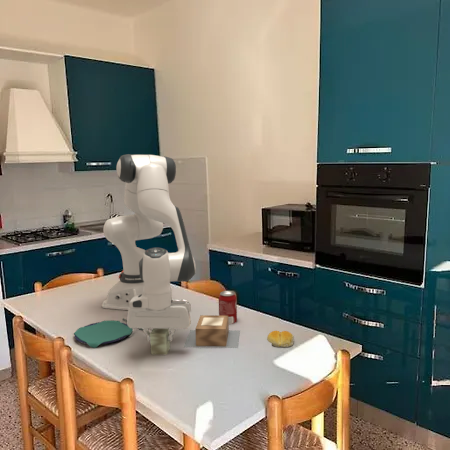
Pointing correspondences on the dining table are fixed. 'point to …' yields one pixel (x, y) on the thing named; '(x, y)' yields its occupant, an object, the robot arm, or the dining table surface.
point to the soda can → (228, 306)
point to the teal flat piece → (103, 333)
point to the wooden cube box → (212, 330)
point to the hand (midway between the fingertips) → (160, 340)
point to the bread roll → (281, 338)
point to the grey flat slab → (231, 343)
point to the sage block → (159, 341)
